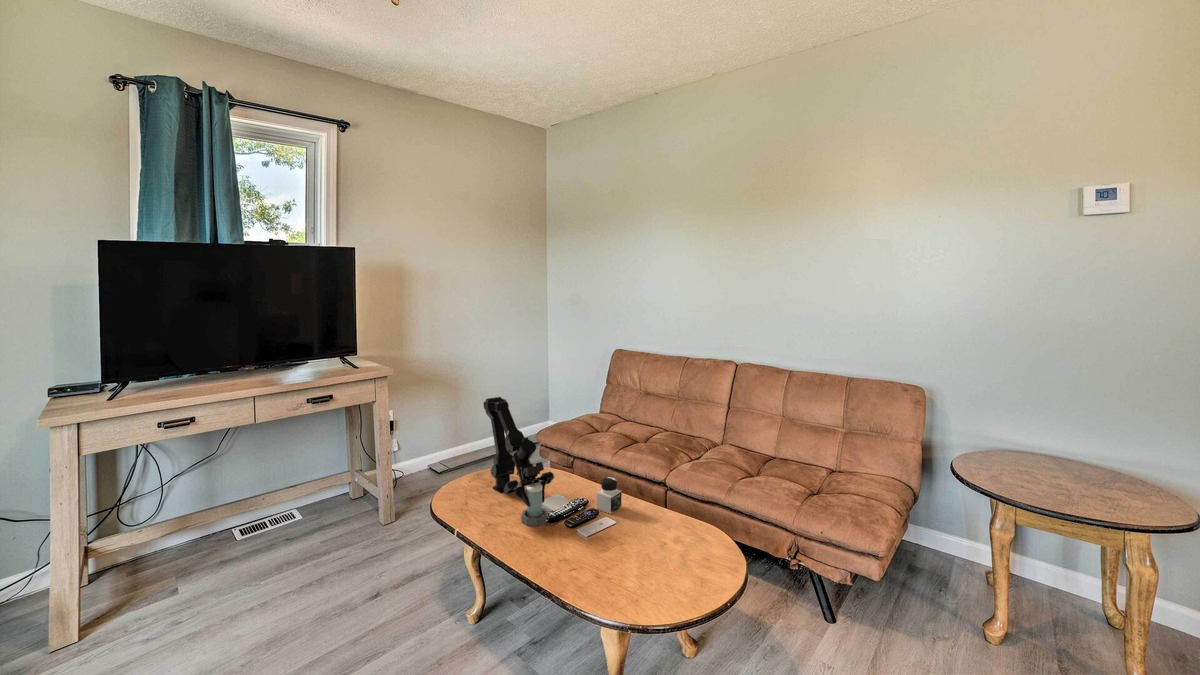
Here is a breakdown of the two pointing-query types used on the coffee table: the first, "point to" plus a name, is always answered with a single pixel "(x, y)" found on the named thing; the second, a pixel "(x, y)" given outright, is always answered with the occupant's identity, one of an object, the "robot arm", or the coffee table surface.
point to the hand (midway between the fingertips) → (536, 504)
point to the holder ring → (534, 521)
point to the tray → (555, 502)
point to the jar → (534, 500)
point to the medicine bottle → (609, 496)
